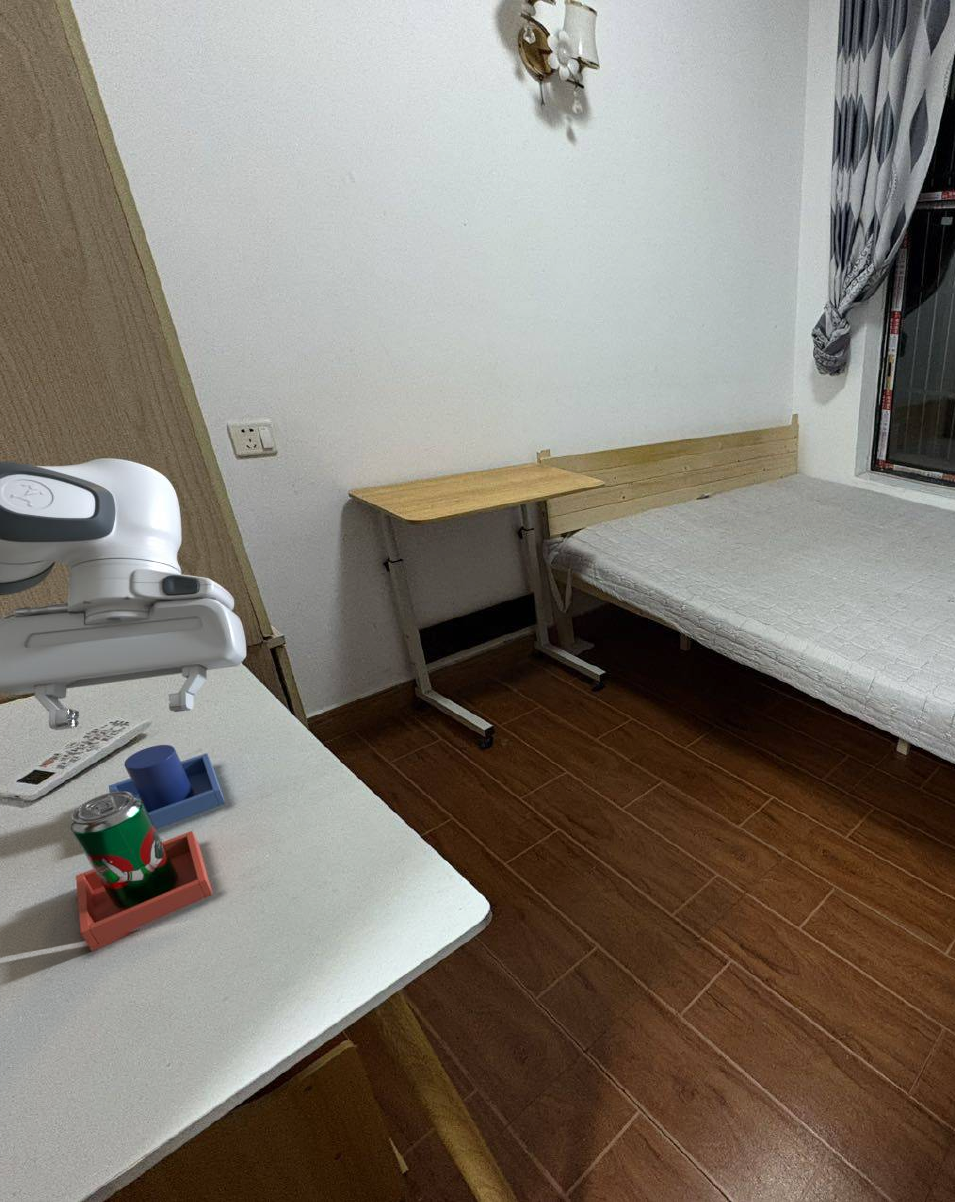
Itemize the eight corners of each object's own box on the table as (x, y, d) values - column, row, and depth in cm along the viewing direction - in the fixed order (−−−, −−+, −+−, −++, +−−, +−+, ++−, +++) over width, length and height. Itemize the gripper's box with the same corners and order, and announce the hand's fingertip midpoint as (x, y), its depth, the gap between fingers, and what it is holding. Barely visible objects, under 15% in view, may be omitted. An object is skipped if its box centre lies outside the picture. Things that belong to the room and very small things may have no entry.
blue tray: (123, 845, 74) (114, 827, 73) (117, 802, 80) (108, 785, 79) (226, 806, 81) (219, 789, 79) (214, 769, 86) (207, 752, 85)
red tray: (91, 951, 63) (80, 933, 62) (86, 893, 69) (75, 875, 68) (214, 897, 69) (205, 879, 68) (200, 847, 75) (192, 830, 74)
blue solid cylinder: (138, 817, 78) (115, 771, 74) (157, 792, 81) (136, 747, 78) (184, 810, 79) (163, 765, 76) (200, 786, 83) (181, 742, 80)
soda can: (168, 865, 72) (127, 781, 67) (188, 886, 70) (147, 801, 64) (106, 897, 68) (57, 810, 63) (125, 921, 66) (76, 833, 60)
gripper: (-27, 600, 66) (-39, 734, 62) (228, 578, 74) (230, 695, 71) (17, 619, 71) (8, 744, 68) (250, 596, 80) (253, 706, 76)
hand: (124, 719), depth 69 cm, fingers open, 8 cm apart
